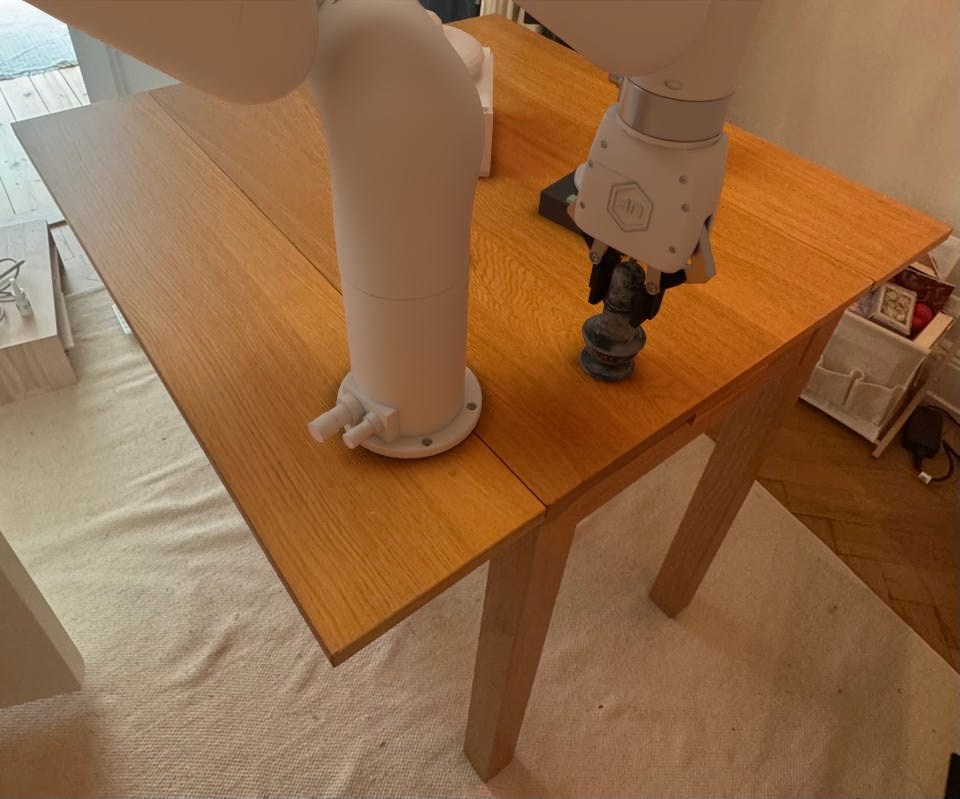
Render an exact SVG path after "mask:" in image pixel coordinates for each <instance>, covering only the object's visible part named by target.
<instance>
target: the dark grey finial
mask: <svg viewBox="0 0 960 799" xmlns="http://www.w3.org/2000/svg"><path fill="white" fill-rule="evenodd" d="M646 276H647V272H646V270H645V268H644V267H643V266H642V265H641V264H639V263H638V260H636V259H634V258H632V257H629V259H628V260H624V261H621V263H619V264H618V265H616V267H615V268H614V270H613V274H612V278H611V282H610V286H609V290H607V291H606V292H605V293H604V294H603V297H602V303H603V308H602V312H600V313H596V314H594V315H591V316H590V317H588V318H587V319H585V321H584V322H583V324H582V328H581V335H582V338H583V343H584V347H583V348H582V349H581V351H580V352H579V356H578V361H579V365H580V367H581V368H582V370H583V371H584V372H585V373H586V374H587V375H588V376H590V377H591V378H592V377H593V378H594V379H596V380H598V381H604V382H607V383H608V382H609V383H610V382H611V383H616V382H620V381H621V382H622V381H623V380H626V379H628V378H630V376H631V375H633V373H634V371H635V368H636V362H635V357H636V356H637V355H638V354H639V352H641V351H642V350H643V349H644V348H645V345H646V344H647V333H646V331H645V329H644V328H643V326H642V324H641V325H640V326H638V327H637V328H636V329H635V328H633V327H631V326H630V324H629V320H630V316H631V312H632V309H633V305H634V301H635V298H636V294H637V291H638V290H639V288H641V287H642V286H643V285H644V284H645V283H646Z"/></svg>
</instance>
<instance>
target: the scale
mask: <svg viewBox="0 0 960 799" xmlns="http://www.w3.org/2000/svg"><path fill="white" fill-rule="evenodd" d="M586 162H587V160H586V161H585V162H583V163H581V164H580V165H579V166H578V167H577V168H576V169H575V170H573V171H571V172H569V173H568V174H566V175H565V176H563V177H561V178H560V179H558V180H556V181H555V182H553V183H551V184H550V185H549V186H547V187H545V188H543V189H541V190H540V195H539V202H538V203H539V204H538V210H537V211H538V212H537V213H538V214H539V215H541V216H543V217H545V218H547V219H549V220H551V221H552V222H555V223H557V224H559V225H561V226H562V227H565V228H567V229H568V230H571V231H572V232H574V233H576V234H579V235H580V236H582V234H581V229H580V228H578V226H577V225H576V224H575V222H574V221H573V220H572V218H571V217H570V216H569V214H568V212H567V207H568V206H569V205H570V204H571V203H572V202H573V201H574V200H575V199H576V198H577V196H578V192H579V188H580V184H581V180H582V176H583V172H584V169H585V165H586ZM617 252H619V253H620V254H621V257H623V256H624V255H625V254H624V253H622V252H620V251H618V250H617Z"/></svg>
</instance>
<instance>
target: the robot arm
mask: <svg viewBox="0 0 960 799" xmlns="http://www.w3.org/2000/svg"><path fill="white" fill-rule="evenodd" d="M21 1H22V2H24V3H26V4H29V5H30V6H32V7H34V8H36V9H38V10H39V11H41V12H43V13H44V14H46V15H49V16H50V17H51V18H54V19H56V20H57V21H59V22H61V23H63V24H65V25H67V26H68V27H71V28H72V29H75V30H77V31H79V32H81V33H83V34H85V35H87V36H89V37H91V38H93V39H95V40H97V41H99V42H101V43H103V44H105V45H107V46H109V47H111V48H113V49H115V50H117V51H119V52H120V53H122V54H125V55H127V56H129V57H131V58H133V59H135V60H137V61H139V62H141V63H143V64H145V65H147V66H149V67H151V68H153V69H155V70H157V71H159V72H161V73H163V74H165V75H167V76H168V77H171V78H173V79H174V80H176V81H179V82H180V83H183V84H184V85H186V86H188V87H190V88H191V89H193V90H196V91H198V92H200V93H202V94H204V95H206V96H210V97H212V98H215V99H218V100H221V101H224V102H226V103H230V104H236V105H244V106H257V105H266V104H271V103H273V102H276V101H279V100H281V99H284V98H285V97H287V96H288V95H290V94H292V93H293V92H294V91H295V90H296V89H297V88H299V89H301V90H303V91H305V92H307V93H308V94H310V95H311V100H312V103H313V107H314V109H315V113H316V115H317V118H318V121H319V124H320V127H321V131H322V134H323V139H324V145H325V148H326V154H327V160H328V166H329V175H330V187H331V188H330V189H331V206H332V207H331V209H332V210H331V211H332V221H333V223H332V224H333V231H334V244H335V251H336V260H337V267H338V270H339V272H338V273H339V280H340V288H341V295H342V304H343V311H344V312H343V313H344V320H345V321H344V322H345V329H346V338H347V345H348V353H349V362H350V370H349V371H348V372H347V374H346V375H345V377H344V378H343V379H342V381H341V383H340V386H339V387H338V391H337V397H336V401H335V406H334V407H333V408H331V409H329V410H328V411H325V412H323V413H322V414H320V415H318V417H316V418H315V419H313V420H312V421H310V422H309V423H307V430H308V431H309V433H310V435H311V437H312V438H313V439H314V440H315V441H316V442H317V443H319V444H323V443H325V442H327V441H328V440H329V439H331V438H332V437H334V436H335V435H337V434H338V433H339V432H340V431H341V429H342V428H343V429H344V430H345V433H343V434H342V437H341V438H342V441H343V443H344V445H346V447H348V448H349V449H351V450H354V449H355V448H356V447H358V446H359V445H360V446H361V447H363V448H365V449H367V450H369V451H370V452H373V453H375V454H377V455H382V456H385V457H389V458H397V459H421V458H426V457H432V456H435V455H438V454H441V453H443V452H446V451H449V450H451V449H452V448H454V447H455V446H457V445H459V444H460V443H461V442H462V441H464V440H465V439H466V438H467V437H469V435H470V434H471V433H472V432H473V430H474V429H475V428H476V426H477V424H478V422H479V420H480V417H481V413H482V409H483V393H482V389H481V388H482V387H481V384H480V382H479V380H478V378H477V376H476V375H475V374H474V372H473V371H472V370H471V368H469V366H467V346H468V345H467V343H468V319H469V317H468V316H469V295H470V294H469V293H470V291H469V290H470V266H471V264H470V263H471V262H470V261H471V260H470V259H471V258H470V256H471V232H472V220H473V209H474V201H475V196H476V191H477V190H476V189H477V186H478V181H479V178H480V176H479V173H480V168H481V163H482V159H483V153H484V145H485V120H484V113H483V108H482V103H481V99H480V96H479V93H478V90H477V88H476V85H475V83H474V80H473V78H472V76H471V74H470V72H469V70H468V69H467V67H466V65H465V63H464V62H463V60H462V59H461V57H460V56H459V54H458V53H457V51H456V50H455V49H454V47H453V46H452V45H451V43H450V42H449V40H448V39H447V38H446V36H445V35H444V33H443V32H442V31H441V29H440V28H439V27H438V26H437V25H436V24H435V22H434V21H433V20H432V18H431V17H430V15H429V14H428V13H427V11H426V10H427V9H426V8H425V7H424V6H423V5H422V4H421V2H420V1H419V0H21ZM511 1H512V2H513V3H514V4H516V5H517V6H518V7H520V8H521V9H522V10H523V11H525V12H526V13H527V14H529V15H530V16H531V17H532V18H533V19H535V20H536V21H537V22H538V23H540V24H541V25H542V26H544V27H545V28H546V29H547V30H548V31H550V32H551V33H553V34H554V35H555V36H556V37H558V38H559V39H560V40H562V41H563V42H564V43H565V44H567V45H568V46H569V47H570V48H571V49H573V50H574V51H576V53H578V54H579V55H580V56H582V57H583V58H584V59H585V60H587V61H588V62H589V63H591V65H593V66H595V67H596V68H598V69H599V70H601V71H603V72H605V73H608V77H607V79H608V80H607V81H608V82H609V83H610V84H613V85H615V87H616V88H618V89H619V90H618V94H617V98H616V102H615V103H612V104H610V105H609V106H608V107H607V108H606V110H605V112H604V114H603V115H602V118H601V120H600V123H599V126H598V128H597V130H596V133H595V136H594V138H593V141H592V144H591V146H590V150H589V153H588V155H587V159H586V161H587V162H586V161H585V162H586V165H585V169H584V172H583V176H582V180H581V184H580V188H579V192H578V196H577V198H576V199H575V200H574V201H573V202H572V203H571V204H570V205H569V206H568V207H567V212H568V214H569V216H570V217H571V218H572V220H573V221H574V222H575V224H576V225H577V226H578V228H580V229H581V234H582V235H581V236H582V239H583V240H584V241H585V244H586V246H587V248H588V250H589V253H588V259H589V261H590V263H591V264H592V267H591V272H590V277H589V281H588V288H590V290H589V296H588V300H587V303H588V304H590V305H592V306H596V305H598V304H600V303H601V302H603V300H602V297H603V294H604V293H605V292H606V291H607V290H609V286H610V282H611V278H612V274H613V270H614V268H615V267H616V265H618V264H619V263H621V262H622V259H623V258H622V255H621V254H620V253H619V252H617V250H618V251H620V252H622V253H624V255H626V256H627V257H629V258H631V257H632V258H634V259H636V260H637V262H640V263H641V264H644V265H646V266H647V267H646V279H645V283H644V285H643V286H642V287H641V288H639V290H638V291H637V294H636V298H635V301H634V305H633V309H632V312H631V316H630V320H629V324H630V326H631V327H633V328H635V329H636V328H637V327H638V326H640V325H641V326H642V324H643V323H645V322H646V321H647V320H648V321H652V320H653V319H655V317H656V316H657V315H658V313H659V312H660V308H661V306H662V302H663V299H664V296H665V294H666V290H669V289H671V288H674V287H678V286H681V285H682V284H687V285H696V284H697V285H699V284H707V283H708V282H709V281H710V280H712V279H713V278H714V277H715V276H716V274H717V268H716V262H715V258H714V255H713V251H712V246H711V242H710V236H711V233H712V230H713V227H714V223H715V220H716V216H717V212H718V209H719V206H720V200H721V197H722V192H723V187H724V183H725V175H726V169H727V162H728V155H729V154H728V153H729V140H730V136H729V133H728V132H726V131H724V126H725V124H726V121H727V118H728V115H729V111H730V108H731V105H732V101H733V98H734V97H735V96H734V95H735V93H736V89H737V86H738V82H739V79H740V76H741V74H742V70H743V68H744V64H745V60H746V57H747V54H748V51H749V49H750V45H751V42H752V38H753V35H754V32H755V29H756V26H757V23H758V19H759V17H760V13H761V11H762V7H763V4H764V0H511ZM425 9H426V10H425ZM689 261H690V263H688V262H689Z"/></svg>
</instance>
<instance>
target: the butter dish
mask: <svg viewBox="0 0 960 799" xmlns="http://www.w3.org/2000/svg"><path fill="white" fill-rule="evenodd" d="M424 9H425V10H426V11H427V13H428V14H429V15H430V17H431V18H432V20H433V21H434V22H435V24H436V25H437V26H438V27H439V28H440V29H441V31H442V32H443V33H444V35H445V36H446V38H447V39H448V40H449V42H450V43H451V45H452V46H453V47H454V49H455V50H456V51H457V53H458V54H459V56H460V57H461V59H462V60H463V62H464V63H465V65H466V67H467V69H468V70H469V72H470V74H471V76H472V78H473V80H474V83H475V85H476V88H477V90H478V93H479V96H480V99H481V103H482V108H483V113H484V120H485V145H484V153H483V159H482V163H481V168H480V173H479V177H480V178H482V177H484V178H489V177H490V172H491V164H492V163H491V161H492V146H493V144H492V142H493V127H494V111H493V108H494V106H493V105H494V104H493V103H494V102H493V100H494V61H495V60H494V59H495V53H494V52H491V47H489V46H482V44H481V43H480V42H479V41H478V39H477V38H475V37H474V36H473V35H471V34H470V33H468V32H466V31H464V30H462V29H460V28H457V27H454V26H452V25H451V26H450V25H447V24H444V23H443V21H442V19H441V18H440V17H439V16H438V15H437V13H436V12H434V11H432V10H429V9H426V8H424Z"/></svg>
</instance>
